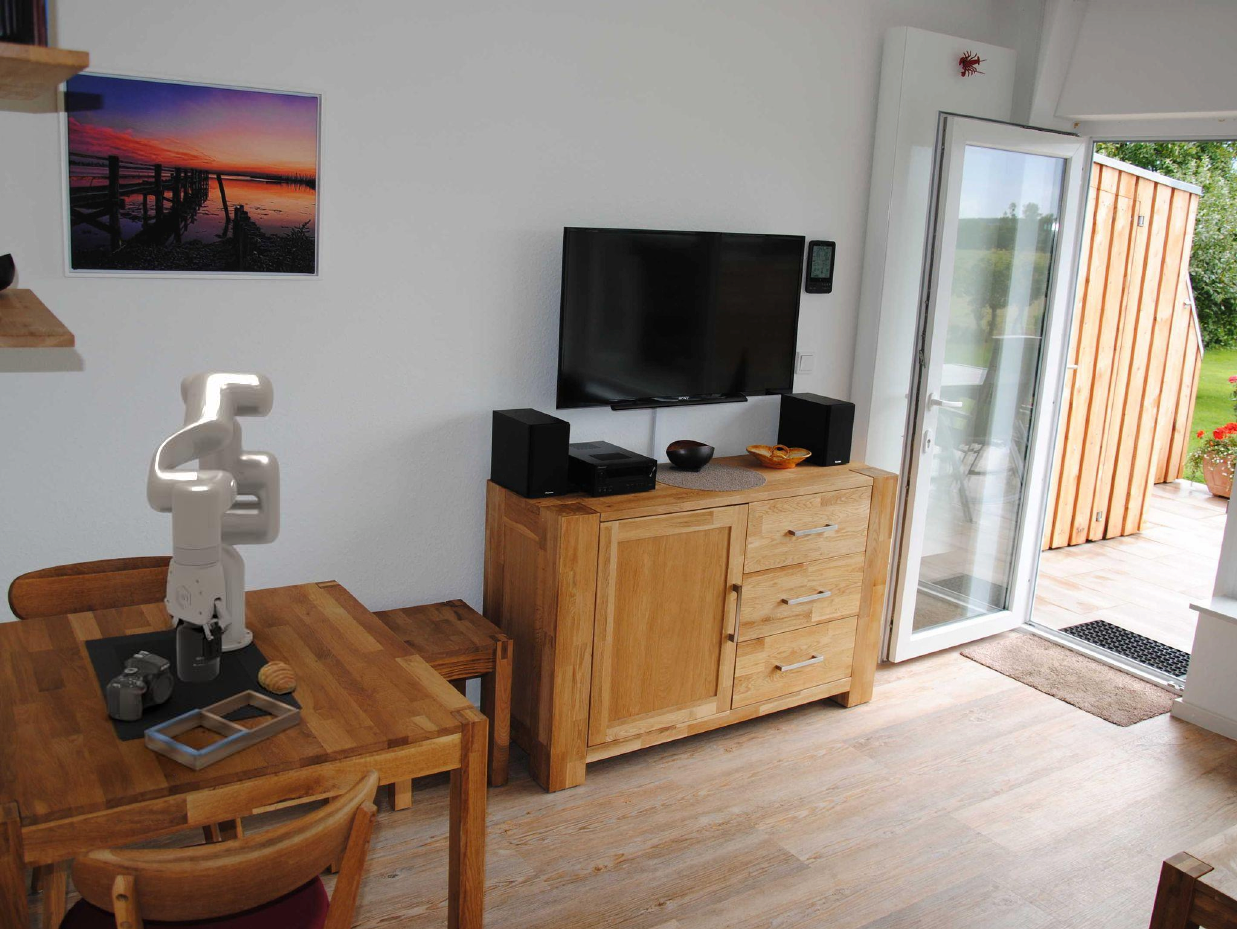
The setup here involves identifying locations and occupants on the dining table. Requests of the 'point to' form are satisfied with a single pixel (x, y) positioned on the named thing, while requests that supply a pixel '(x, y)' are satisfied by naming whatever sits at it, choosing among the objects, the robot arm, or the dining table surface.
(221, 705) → the caddy
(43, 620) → the dining table surface
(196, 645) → the supplement bottle
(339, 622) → the dining table surface
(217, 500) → the robot arm
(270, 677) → the pastry
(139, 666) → the camera
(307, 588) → the dining table surface
